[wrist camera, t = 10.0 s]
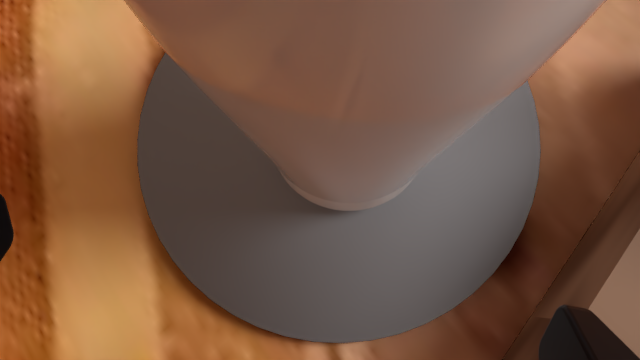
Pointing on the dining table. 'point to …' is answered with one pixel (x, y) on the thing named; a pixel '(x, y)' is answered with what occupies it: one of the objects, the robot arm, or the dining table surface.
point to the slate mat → (330, 221)
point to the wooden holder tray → (598, 273)
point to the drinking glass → (358, 78)
